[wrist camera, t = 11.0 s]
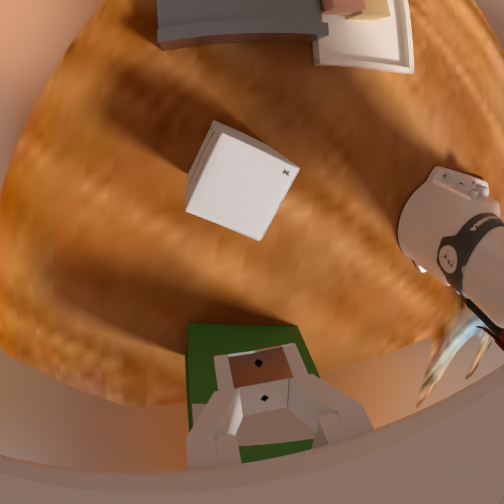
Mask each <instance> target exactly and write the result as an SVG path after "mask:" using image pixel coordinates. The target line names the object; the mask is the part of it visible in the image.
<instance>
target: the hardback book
mask: <svg viewBox="0 0 504 504" xmlns="http://www.w3.org/2000/svg"><path fill="white" fill-rule="evenodd" d="M187 332H188V352H185V370H186V391H187V408H188V422H189V423H188V424H189V432H190V431H191V429H192V428H193V426H194V424H195V423H196V421H197V419H198V418H199V416H200V415H201V413H202V411H203V410H204V408H205V406H206V405H207V403H208V401H209V400H210V398H211V396H212V395H213V393H214V392H215V391H218V385H217V378H216V371H215V364H214V356H218V355H227V354H233V353H241V352H248V351H254V350H259V349H264V348H270V347H275V346H281V345H286V344H291V343H295V344H296V346H297V349H298V351H299V353H300V356H301V358H302V360H303V363H304V365H305V367H306V370H307V372H308V374H314V375H315V376H317V377H318V378H320V376H319V374H318V372H317V369H316V367H315V365H314V363H313V360H312V358H311V356H310V354H309V351H308V349H307V347H306V345H305V342H304V340H303V338H302V336H301V333H300V331H299V329H298V327H297V326H263V325H230V324H208V323H191V322H188V325H187ZM315 433H316V432H315V431H314V430H313V429H312V428H310V427H309V426H308V425H307V424H306V423H304V422H303V421H302V420H301V419H299V418H298V417H297V416H296V415H295V414H294V413H292V412H291V411H290V410H289V409H288V407H287V408H282V409H276V410H271V411H265V412H260V413H255V414H250V415H245V416H243V418H242V421H241V423H240V425H239V428H238V430H237V432H236V434H235V436H236V438H237V443H238V448H239V452H240V457H241V461H242V464H243V463H249V462H255V461H260V460H266V459H271V458H276V457H281V456H285V455H290V454H294V453H298V452H302V451H306V450H310V449H311V448H312V444H313V441H314V437H315Z"/></svg>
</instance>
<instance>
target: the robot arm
mask: <svg viewBox="0 0 504 504" xmlns="http://www.w3.org/2000/svg"><path fill="white" fill-rule="evenodd" d="M443 175H444V176H443ZM398 241H399V245H400V247H401V250H402V251H403V253H404V254H405V255H406V256H407V257H409V258H411V259H412V260H413V261H414V263H415V265H416V267H417V269H418V270H419V271H421V272H426V271H427V272H429V273H430V274H431V275H433V276H434V277H435V278H437V279H438V280H440V281H441V282H442V283H444V284H445V285H447V286H450V285H451V286H452V287H453V288H454V290H455V291H456V292H457V293H458V294H461V295H462V296H463V297H464V298H467V299H470V300H471V301H472V302H473V303H474V304H475V305H476V306H478V307H479V308H480V309H481V310H482V311H483V312H484V313H485V314H486V315H487V316H488V317H489V318H490V319H491V321H492V322H493V323H494V324H495V325H497V326H498V327H501V328H504V221H503V220H502V219H500V207H499V204H498V202H497V201H496V200H495V199H493V198H491V197H489V187H488V183H487V182H486V181H484V180H482V179H480V178H477V177H474V176H470V175H467V174H464V173H461V172H458V171H455V170H451V169H448V168H445V167H441V166H436V167H435V168H434V169H433V170H432V172H431V174H430V175H429V177H428V179H427V181H426V182H425V183H424V184H423V185H421V186H420V187H419V188H418V189H417V190H416V191H415V192H414V193H413V194H412V196H411V197H410V198H409V200H408V201H407V203H406V205H405V207H404V209H403V211H402V214H401V217H400V221H399V226H398ZM214 364H215V371H216V378H217V385H218V391H215V392H214V393H213V395H212V396H211V398H210V400H209V401H208V403H207V405H206V406H205V408H204V410H203V411H202V413H201V415H200V416H199V418H198V419H197V421H196V423H195V424H194V426H193V428H192V429H191V431H190V432H189V434H188V436H187V437H186V445H187V458H188V469H189V470H180V471H154V472H126V471H125V472H124V471H102V470H101V471H100V470H88V469H78V468H69V467H61V466H53V465H47V464H41V463H36V462H30V461H25V460H20V459H16V458H11V457H7V456H3V455H0V504H504V365H502V366H501V367H499V368H498V369H496V370H495V371H493V372H491V373H490V374H488V375H486V376H485V377H483V378H482V379H480V380H478V381H476V382H475V383H473V384H471V385H470V386H468V387H466V388H464V389H462V390H460V391H458V392H457V393H455V394H453V395H451V396H449V397H447V398H445V399H443V400H441V401H439V402H437V403H435V404H433V405H431V406H429V407H427V408H425V409H422V410H420V411H418V412H416V413H414V414H411V415H409V416H407V417H404V418H402V419H400V420H397V421H395V422H393V423H390V424H387V425H385V426H382V427H379V428H377V429H374V428H373V426H372V424H371V422H370V420H369V418H368V416H367V414H366V412H365V410H364V408H363V406H362V404H361V403H360V402H358V401H356V400H355V399H353V398H351V397H350V396H348V395H346V394H345V393H343V392H341V391H340V390H338V389H336V388H335V387H333V386H331V385H329V384H328V383H326V382H325V381H323V380H322V379H320V378H318V377H317V376H315V375H314V374H308V372H307V370H306V367H305V365H304V363H303V360H302V358H301V356H300V353H299V351H298V349H297V346H296V344H295V343H291V344H286V345H281V346H275V347H270V348H264V349H259V350H254V351H248V352H241V353H233V354H227V355H218V356H214ZM287 407H288V409H289V410H290V411H291V412H292V413H294V414H295V415H296V416H297V417H298V418H299V419H301V420H302V421H303V422H304V423H306V424H307V425H308V426H309V427H310V428H312V429H313V430H314V431H315V432H316V433H315V437H314V441H313V444H312V448H311V449H310V450H306V451H302V452H298V453H294V454H290V455H285V456H281V457H276V458H271V459H266V460H260V461H255V462H249V463H243V464H242V461H241V457H240V452H239V448H238V443H237V438H236V436H235V434H236V432H237V430H238V428H239V425H240V423H241V421H242V418H243V416H245V415H250V414H255V413H260V412H265V411H271V410H276V409H282V408H287Z"/></svg>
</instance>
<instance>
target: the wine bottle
mask: <svg viewBox="0 0 504 504" xmlns="http://www.w3.org/2000/svg"><path fill="white" fill-rule="evenodd" d="M467 307H469V308H470V309H471V310H472V311H473V312H474V313H475V314H476V315H477V316H478V317H479V318H480V319H481V320H482V321H483V322H484V323H485V324H486V326H487V327H488V328H489V329H490V330H491V331H492V332H493V333H494V334H493V333H492V332H491V331H490V330H488V329H487V328H485V327H480V326H475V327H478V328H482V329H483V330H484V331H486V332H487V333H488V334H489V335H491V336H492V337H493V338H494V339H495V342H496V343H497V344H498V345H499V347H500V348H501V349H502V350H504V328H501V327H498V326H497V325H495V324H494V323H493V322H492V321H491V319H490V318H489V317H488V316H487V315H486V314H485V313H484V312H483V311H482V310H481V309H480V308H479V307H478V306H476V305H475V304H474V303H473V302H472V301H471V300H470V299H467Z"/></svg>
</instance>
